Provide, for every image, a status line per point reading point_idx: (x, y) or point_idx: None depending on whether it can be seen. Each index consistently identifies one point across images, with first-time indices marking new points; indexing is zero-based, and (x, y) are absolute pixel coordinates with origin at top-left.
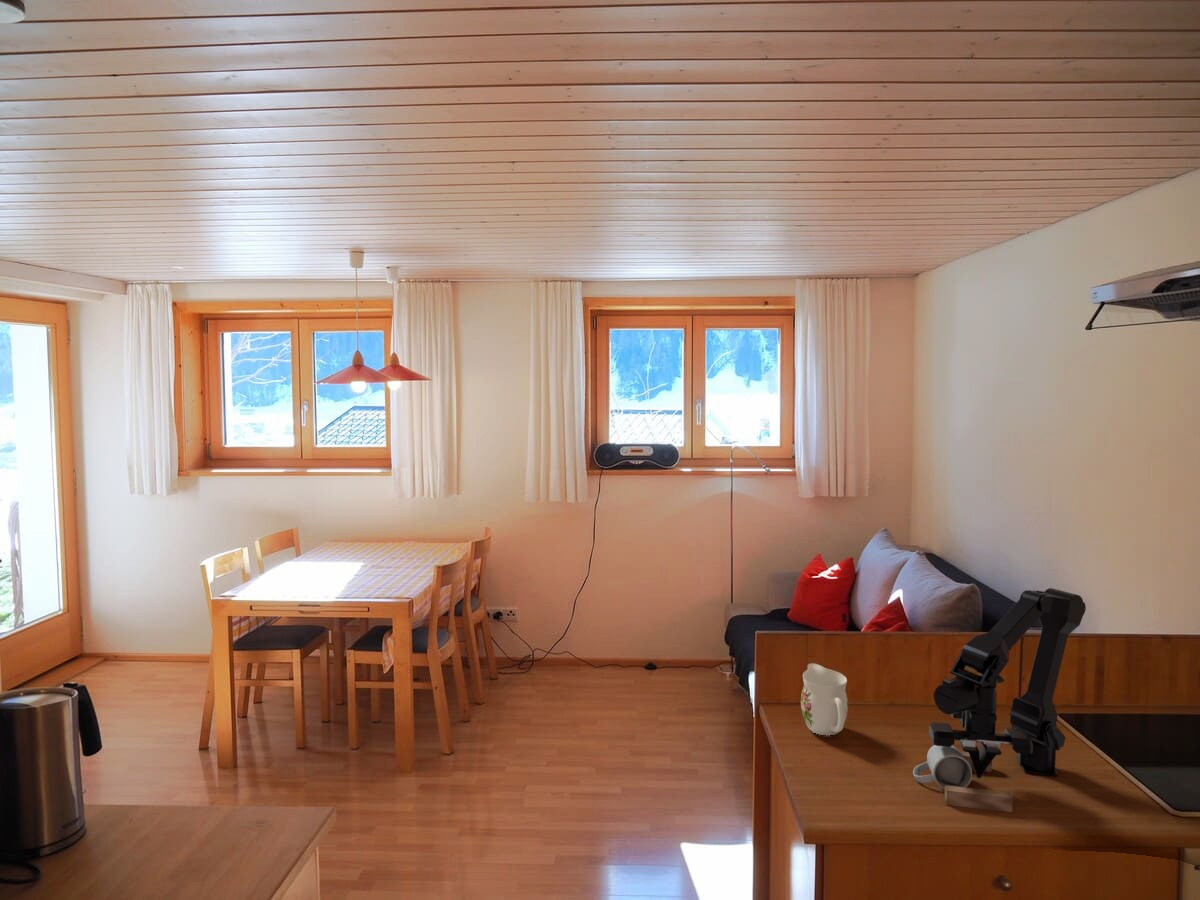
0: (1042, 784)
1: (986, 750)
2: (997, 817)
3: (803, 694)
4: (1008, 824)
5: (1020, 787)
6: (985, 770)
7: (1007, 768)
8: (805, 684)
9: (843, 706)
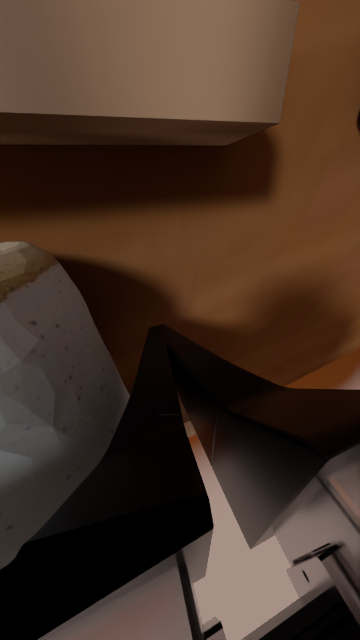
0: (349, 214)
1: (257, 544)
2: None
3: None
4: None
5: (278, 262)
6: (201, 144)
7: (315, 62)
8: None
9: None
